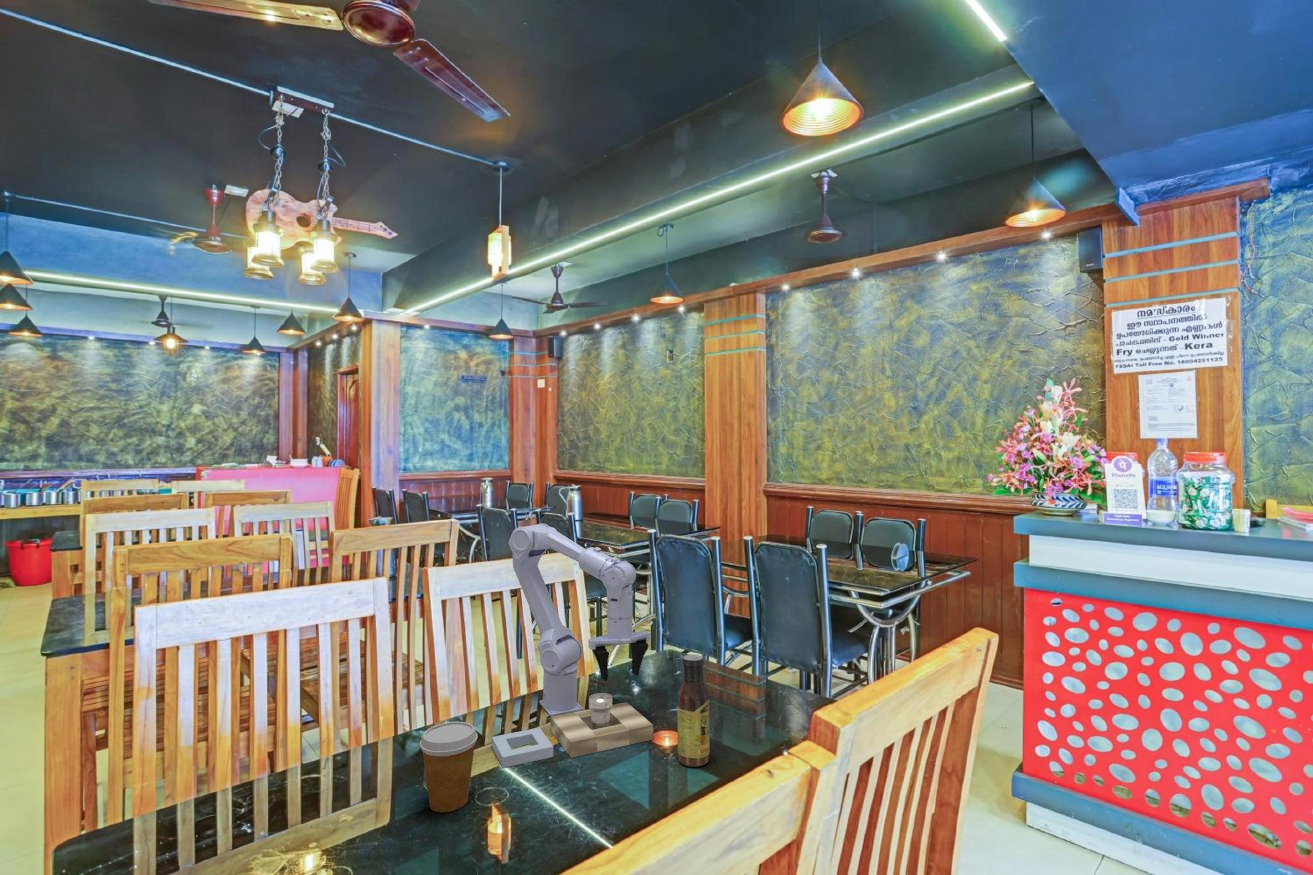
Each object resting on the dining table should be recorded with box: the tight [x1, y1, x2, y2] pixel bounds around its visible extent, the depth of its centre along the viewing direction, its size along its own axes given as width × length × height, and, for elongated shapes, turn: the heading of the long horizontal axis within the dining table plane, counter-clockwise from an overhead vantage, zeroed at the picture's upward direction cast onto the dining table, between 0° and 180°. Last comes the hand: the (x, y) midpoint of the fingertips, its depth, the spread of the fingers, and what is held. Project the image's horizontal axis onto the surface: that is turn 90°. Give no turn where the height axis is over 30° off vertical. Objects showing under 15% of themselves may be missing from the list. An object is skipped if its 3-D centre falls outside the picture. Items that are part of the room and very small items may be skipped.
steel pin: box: [588, 692, 613, 730], centre depth 135 cm, size 5×5×8 cm
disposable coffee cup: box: [419, 721, 479, 813], centre depth 109 cm, size 10×10×12 cm
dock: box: [550, 701, 654, 758], centre depth 135 cm, size 14×18×3 cm
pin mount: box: [491, 727, 554, 769], centre depth 128 cm, size 10×10×2 cm
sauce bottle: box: [676, 654, 711, 768], centre depth 124 cm, size 7×6×20 cm
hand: (620, 676), depth 144 cm, fingers open, 7 cm apart
